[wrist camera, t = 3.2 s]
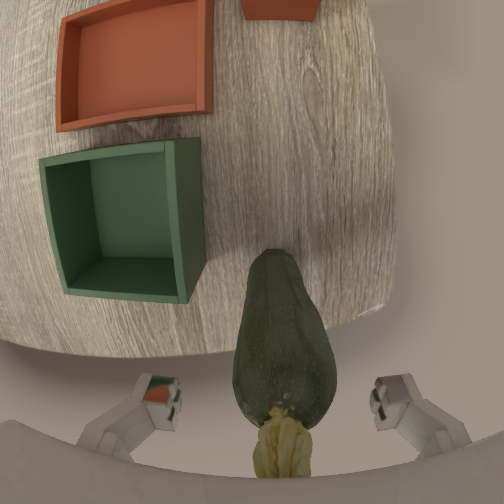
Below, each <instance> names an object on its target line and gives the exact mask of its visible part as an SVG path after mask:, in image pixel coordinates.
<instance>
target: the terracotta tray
mask: <svg viewBox="0 0 504 504" xmlns="http://www.w3.org/2000/svg"><path fill="white" fill-rule="evenodd" d="M213 17H214V0H111V1H108V2H105V3H102V4H99V5H96V6H93V7H90V8H87V9H85V10H82V11H79V12H77V13H74V14H72V15H69V16H67V17H64V18H62V19H61V26H60V34H59V43H58V54H57V69H56V133H59V132H69V131H78V130H83V129H88V128H93V127H98V126H104V125H109V124H115V123H122V122H128V121H135V120H143V119H151V118H160V117H169V116H180V115H192V114H208V113H213Z"/></svg>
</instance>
